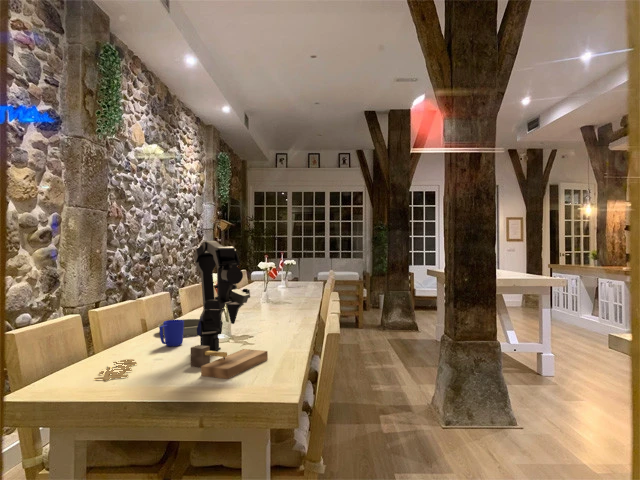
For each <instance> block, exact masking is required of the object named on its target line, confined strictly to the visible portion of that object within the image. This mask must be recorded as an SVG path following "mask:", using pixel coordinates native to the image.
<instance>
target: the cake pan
mask: <svg viewBox="0 0 640 480" xmlns="http://www.w3.org/2000/svg"><path fill="white" fill-rule="evenodd" d="M182 320H184V329H183V337H188V336H187V335H192V336H197V327H198V324H199V321H200V318H186V319H185V318H183V319H182ZM163 325H164V324H163V322H162V323H159V324H157V327H158V328H159V327H160V326H163ZM163 334H164V327H163Z"/></svg>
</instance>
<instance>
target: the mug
mask: <svg viewBox="0 0 640 480" xmlns="http://www.w3.org/2000/svg"><path fill="white" fill-rule="evenodd" d="M162 323H163V324H164V325H163V326H160V327H158V328H159V329H158V330H159V337H160V341H161V343H162V344H163V345H166V346H168V347H178V346H181V345H182V344H183V343H184V336H183V329H184V320H183V319H168V320H165V321H163V322H162ZM163 327H164V335H163Z"/></svg>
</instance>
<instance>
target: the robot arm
mask: <svg viewBox="0 0 640 480" xmlns="http://www.w3.org/2000/svg"><path fill="white" fill-rule="evenodd" d="M193 261H194V263H195V268H196V269H197V271H199V273H200V280H201V282H200V283H201V293H202V307H203V308H202V309H203V310H202V312H201V314H200V316H199V319H200V321H199V324H198V327H197V335H198V337H200V345H202V346H210V351H219V350H221V346H220V338H219V335H222V332H223V324H224V323H223V320H222V315H223V313H224V312H225V310H226V309H225V307H226V308H227V313H228V316H229V317H228V318H229V320H230V323H231V324H232V325H234V324H235V323H236V320H237V315H238V313H239V310H240V309H241V307H242V306H244V305H245V304H246V303H248V301H249V299H250V298H251V292H250V291H251V290H250V289H249V288H243V289H238V286H237V285H238V284H239V283H240V282H242V280H243V278H244V274H243V273H244V272H243V271H242V270H241V268H240V263H241V260H240V257H239V254H238V252H237V249H236V248H235V247H234V246H225V245H222V244H220V243H218V241H217V240H205V241H203V242H202V244H201V245H199V246H198V248H196V250H195V252H194V255H193ZM238 266H239V267H238ZM215 268H216V284H215V285H214V274H213V272H214V269H215ZM215 289H217V291H216V292H217V296H215ZM197 335H196V336H197Z"/></svg>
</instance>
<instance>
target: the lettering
mask: <svg viewBox="0 0 640 480" xmlns="http://www.w3.org/2000/svg"><path fill="white" fill-rule="evenodd" d="M126 360H127V361H126ZM132 361H135V359H134V358H133V359H131V358H129V359H127V358H126V359H122V360H120V361H118V362H124V363H117V362H116V361H112V362H113V363H116V364H122V365H123V364H124V365H127V366H126V367H125V366H122V365H118V366H117V367H118V368H121V369H114V370H123V371H119V372H120V373H118V372H113V371H114V370H113V368H111V369H112V370H111V371H109V370H110V369H109V368H105V369H106V370H107V371H106V372H105V373H104V371H101V370H100V371H101V372H100V371H99V373H98V375H99V374H103V373H104V374H103V376H98V377H94V378H93V380H94V379H104V380H109V379H110V378H121V377H127V376H128V377H129V374H128V373H125V372H126V371H132V372H133V370H132V366H131V365H135V364H137V365H138V363H137V361H135V362H132ZM130 366H131V367H130ZM117 367H116V368H117ZM129 367H130V368H129ZM125 368H126V369H125ZM130 369H131V370H130ZM117 373H118V374H117ZM124 373H125V374H124ZM110 374H112V375H111V376H109V375H110ZM123 374H124V375H123ZM128 377H127V378H128ZM104 380H103V381H104ZM109 381H110V380H109Z"/></svg>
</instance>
